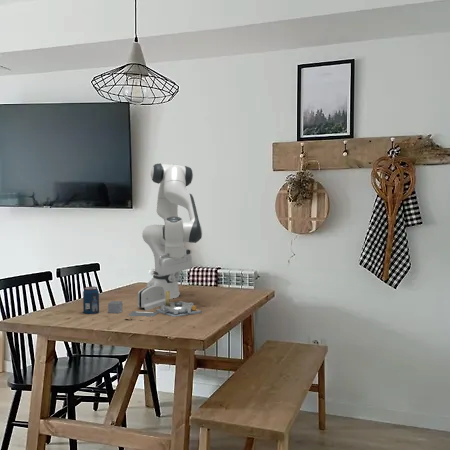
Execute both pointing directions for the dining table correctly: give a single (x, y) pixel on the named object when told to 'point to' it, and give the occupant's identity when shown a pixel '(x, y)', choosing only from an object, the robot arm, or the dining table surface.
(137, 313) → the pad
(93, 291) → the soda can
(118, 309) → the link block
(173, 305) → the sprocket
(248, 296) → the dining table surface
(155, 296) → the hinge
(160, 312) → the sprocket base
